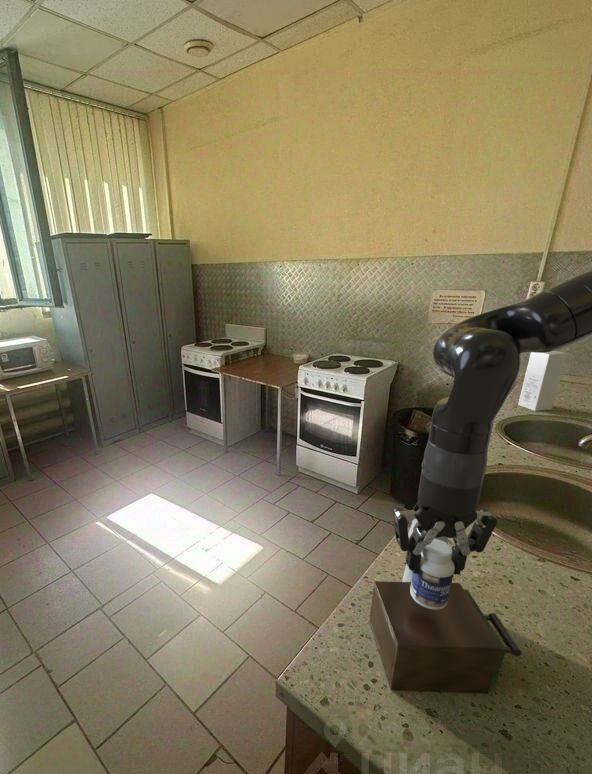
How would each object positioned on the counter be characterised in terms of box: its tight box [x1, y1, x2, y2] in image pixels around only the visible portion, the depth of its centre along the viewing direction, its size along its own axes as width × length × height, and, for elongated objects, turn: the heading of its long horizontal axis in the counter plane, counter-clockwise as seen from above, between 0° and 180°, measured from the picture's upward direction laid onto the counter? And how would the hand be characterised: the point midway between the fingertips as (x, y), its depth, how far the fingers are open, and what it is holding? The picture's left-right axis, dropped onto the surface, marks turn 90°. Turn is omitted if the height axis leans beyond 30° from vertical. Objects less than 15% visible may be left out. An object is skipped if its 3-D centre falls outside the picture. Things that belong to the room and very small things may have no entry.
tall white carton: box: [517, 350, 568, 412], centre depth 171 cm, size 9×9×25 cm
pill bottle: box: [410, 539, 455, 610], centre depth 60 cm, size 5×5×10 cm
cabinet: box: [368, 580, 501, 695], centre depth 65 cm, size 15×13×10 cm
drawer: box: [464, 589, 523, 687], centre depth 64 cm, size 18×11×8 cm, turn 87°
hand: (433, 569), depth 60 cm, fingers closed on pill bottle, 5 cm apart
